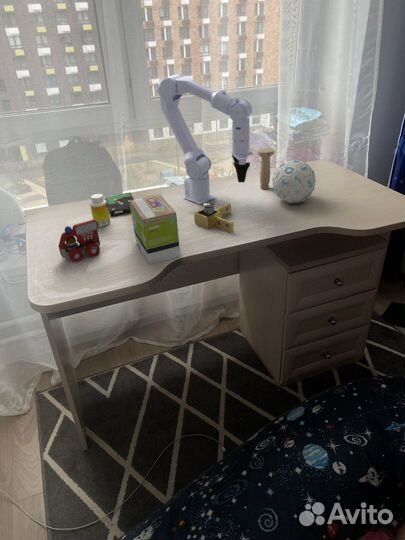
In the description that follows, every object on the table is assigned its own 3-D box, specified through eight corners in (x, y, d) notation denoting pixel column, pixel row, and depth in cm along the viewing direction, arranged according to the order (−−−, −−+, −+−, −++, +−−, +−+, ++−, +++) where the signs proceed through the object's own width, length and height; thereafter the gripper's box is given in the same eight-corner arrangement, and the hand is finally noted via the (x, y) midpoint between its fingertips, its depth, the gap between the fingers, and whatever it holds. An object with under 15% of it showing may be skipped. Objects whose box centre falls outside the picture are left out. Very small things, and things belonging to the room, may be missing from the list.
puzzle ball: (310, 211, 142) (315, 169, 134) (267, 207, 147) (269, 166, 139) (315, 195, 154) (319, 155, 146) (275, 192, 159) (277, 153, 151)
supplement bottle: (112, 224, 141) (107, 196, 135) (96, 228, 139) (90, 200, 133) (108, 218, 145) (102, 191, 140) (92, 222, 143) (86, 194, 138)
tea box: (134, 243, 129) (128, 199, 121) (165, 236, 132) (160, 192, 124) (148, 265, 117) (142, 218, 109) (181, 257, 120) (177, 210, 112)
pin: (201, 223, 138) (200, 204, 135) (208, 219, 141) (207, 200, 137) (210, 226, 136) (209, 206, 133) (217, 221, 139) (216, 202, 135)
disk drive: (139, 213, 150) (131, 198, 161) (138, 206, 148) (130, 191, 160) (111, 218, 147) (104, 203, 159) (110, 211, 145) (103, 196, 157)
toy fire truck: (59, 256, 124) (51, 225, 119) (98, 244, 129) (92, 214, 124) (65, 266, 119) (56, 234, 114) (106, 253, 124) (99, 222, 119)
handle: (274, 189, 162) (276, 151, 154) (259, 191, 160) (260, 153, 152) (269, 184, 166) (271, 147, 157) (254, 187, 164) (255, 149, 156)
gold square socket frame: (194, 223, 139) (194, 212, 136) (223, 210, 147) (223, 199, 145) (226, 236, 130) (225, 225, 128) (255, 221, 138) (255, 210, 136)
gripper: (254, 144, 132) (253, 185, 139) (250, 133, 144) (250, 170, 151) (232, 145, 132) (233, 185, 139) (230, 134, 144) (230, 171, 152)
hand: (240, 178), depth 145 cm, fingers open, 7 cm apart
